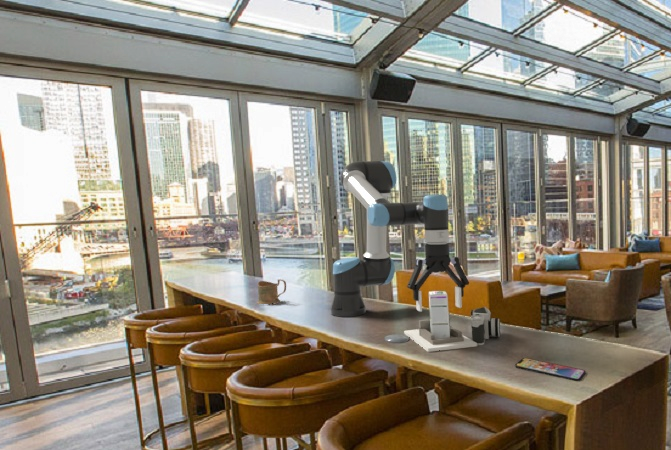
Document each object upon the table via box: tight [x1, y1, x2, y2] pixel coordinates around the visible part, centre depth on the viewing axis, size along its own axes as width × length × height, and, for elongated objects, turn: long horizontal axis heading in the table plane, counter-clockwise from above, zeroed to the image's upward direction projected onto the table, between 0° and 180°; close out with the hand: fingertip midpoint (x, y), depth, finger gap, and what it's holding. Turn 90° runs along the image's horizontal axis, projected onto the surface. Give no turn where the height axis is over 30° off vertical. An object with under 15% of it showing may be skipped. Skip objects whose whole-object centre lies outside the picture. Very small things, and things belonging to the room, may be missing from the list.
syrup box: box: [428, 290, 450, 339], centre depth 130 cm, size 6×6×14 cm
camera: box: [470, 306, 501, 346], centre depth 131 cm, size 16×9×10 cm, turn 156°
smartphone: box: [514, 357, 586, 382], centre depth 103 cm, size 7×1×15 cm
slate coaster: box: [384, 333, 410, 344], centre depth 135 cm, size 8×8×1 cm
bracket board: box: [403, 317, 478, 353], centre depth 132 cm, size 20×16×6 cm
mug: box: [256, 279, 287, 305], centre depth 203 cm, size 12×18×12 cm, turn 57°
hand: (439, 308), depth 130 cm, fingers open, 13 cm apart
